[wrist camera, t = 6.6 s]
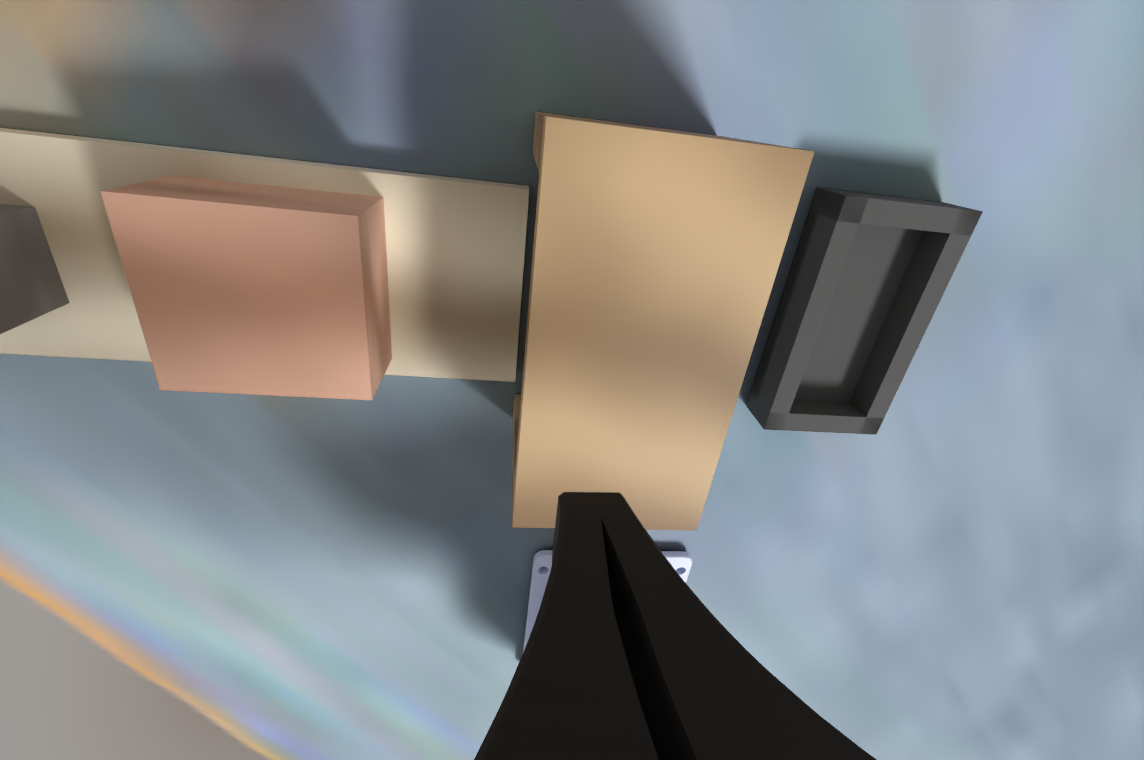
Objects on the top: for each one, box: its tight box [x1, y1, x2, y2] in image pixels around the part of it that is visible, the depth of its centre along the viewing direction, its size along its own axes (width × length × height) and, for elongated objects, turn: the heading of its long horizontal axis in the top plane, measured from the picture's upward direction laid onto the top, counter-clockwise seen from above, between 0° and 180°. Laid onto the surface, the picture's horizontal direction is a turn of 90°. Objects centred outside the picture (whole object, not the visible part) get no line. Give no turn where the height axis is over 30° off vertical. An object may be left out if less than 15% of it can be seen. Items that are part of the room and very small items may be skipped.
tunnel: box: [512, 112, 814, 530], centre depth 16 cm, size 11×6×6 cm, turn 173°
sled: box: [0, 128, 529, 400], centre depth 14 cm, size 7×18×7 cm, turn 83°
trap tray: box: [746, 187, 982, 434], centre depth 20 cm, size 9×5×2 cm, turn 173°
